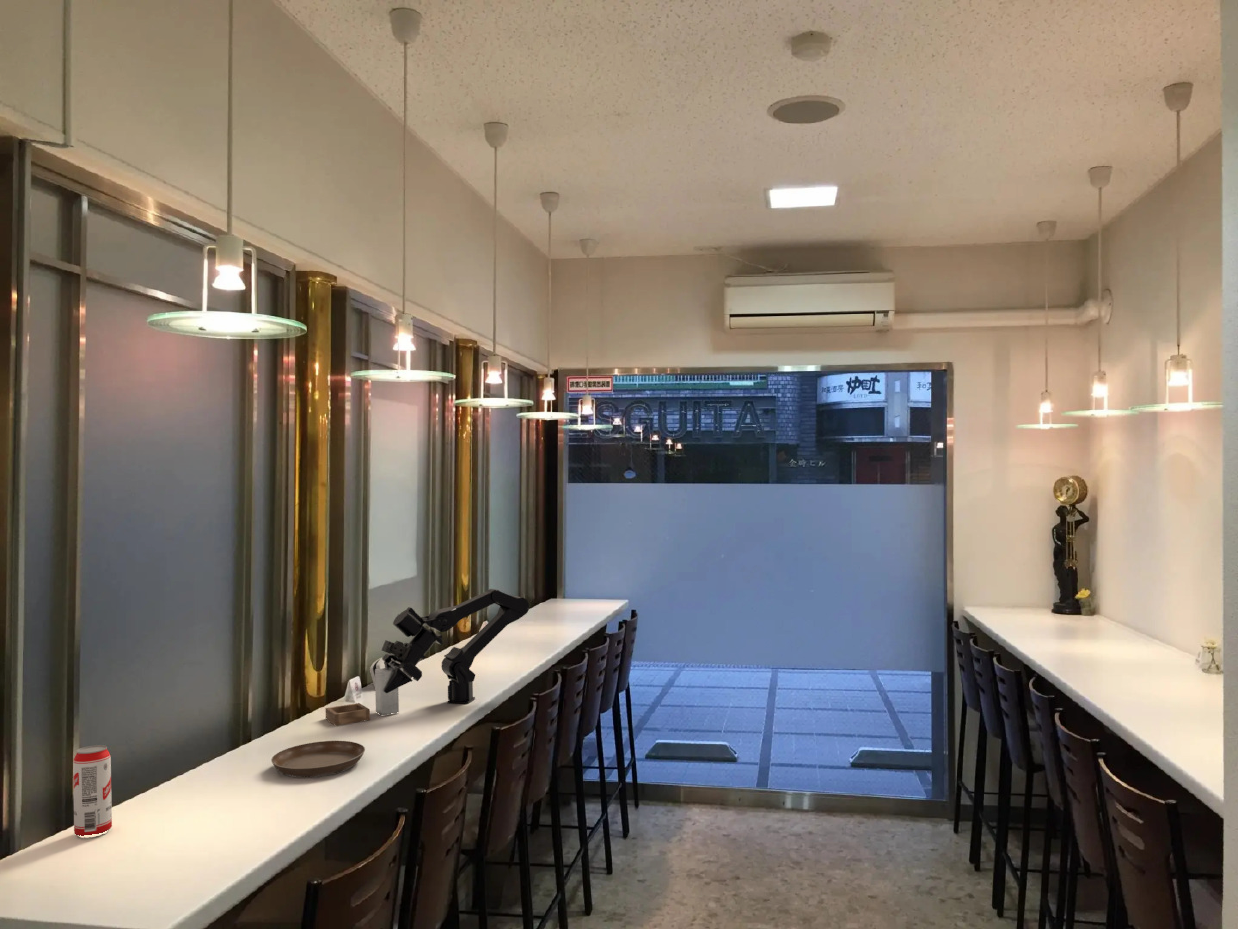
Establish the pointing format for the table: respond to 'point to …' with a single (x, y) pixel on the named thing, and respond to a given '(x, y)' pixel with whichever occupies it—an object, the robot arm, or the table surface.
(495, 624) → the robot arm
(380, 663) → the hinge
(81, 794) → the beer can
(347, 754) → the plant saucer
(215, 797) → the table surface
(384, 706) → the grey block
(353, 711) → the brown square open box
